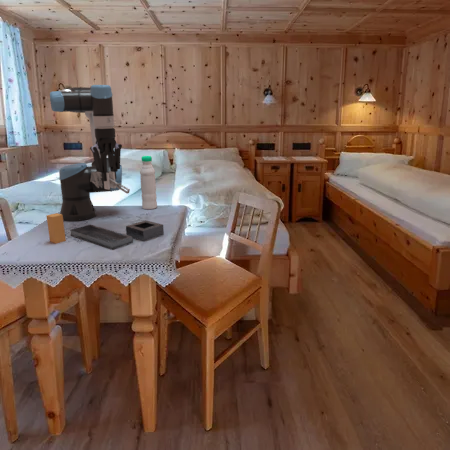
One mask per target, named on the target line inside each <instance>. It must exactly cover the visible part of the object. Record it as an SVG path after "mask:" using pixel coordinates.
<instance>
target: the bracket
mask: <svg viewBox="0 0 450 450" xmlns="http://www.w3.org/2000/svg"><path fill="white" fill-rule="evenodd" d="M97 178H98V179H99V181H98V179H97ZM101 178H102V174H101V172H97V171H95V172H92V174H91V180H90V182H93V183H94V184H95V185H96V186H97V187H98V188H99V186H100V187H102V186H101V185H103V184H101V183H102V181H100V180H101ZM94 181H96V182H94ZM109 181H110V184H112V185H114V186H115V187H117V188H119V189H120V190H119V191H122V192H124V193H126V194H130V191H131V190H130V188H128V187H126V186H124V185H121V183H117V182H115V181H114V180H112V179H111V178H109ZM120 186H121V187H120Z"/></svg>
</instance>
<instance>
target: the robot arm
mask: <svg viewBox="0 0 450 450" xmlns="http://www.w3.org/2000/svg"><path fill="white" fill-rule="evenodd" d="M49 100H50V101H49V102H50V107H51V111H53V112H55V113H57V112H58V113H63V112H64V113H66V112H70V113H75V114H76V113H77V114H84V115H85V117H86V118H87V119H88V121H89V128H90V136H91V143H92V144H91V145H92V146H90V147H89V150H90V151H91V153H92V158H93V161H92V162H91V165H90V166H89V165H87V163H85V162H84V163H75V164H74V163H73V164H68V165H65V166H62V167H61V168H60V169H59V171H58V173H59V175H58V176H59V178H58V179H59V182H60V191H61V198H62V201H61V202H62V203H61V207H60V212H59V214H61V215H63V221H67V222H74V221H75V222H77V221H78V222H79V221H85V220H89V219H93V218H95V217H96V216H97V213H96V208H95V206H94V204H93V202H92V200H91V193H105V192H106V193H107V192H117V191H121V190H120V189H119V188H117V187H115V186H114V185H112V184H110V181H109V178H111V179H112V180H114V181H115V182H117V183H121V185H122V183H123V182H122V181H123V166H122V164H121V150H122V146H123V145H122V144H121V143H117V141H116V136H117V135H116V129H115V125H116V124H115V115H114V104H113V92H112V87H111V85H110V84H109V85H108V84H93V85H92V84H91V86H90V87H88V86H87V87H82V86H79V87H78V86H76V87H74V86H73V87H69V88H65V89H61V90H57V91H50V92H49ZM95 171H97V172H101V174H102V178H101V180H100V181H102V183H101V184H103V185H101V186H102V187H100V186H99V188H98V187H97V186H96V185H95V184H94V183H93V182H90V180H91V174H92V172H95ZM97 179H98V178H97ZM98 181H99V179H98ZM94 182H96V181H94ZM120 187H121V186H120ZM121 188H122V187H121Z"/></svg>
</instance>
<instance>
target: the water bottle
mask: <svg viewBox="0 0 450 450" xmlns="http://www.w3.org/2000/svg"><path fill="white" fill-rule="evenodd" d="M152 160H153V157H152V156H151V155H143V156H141V162H142V165H141V168H140V171H139V174H140V189H141V200H142V201H141V204H142V205H141V206H142V209H144V210H154V209H156V208H157V207H158V201H157V186H156V184H157V182H156V180H157V179H156V170H155V168H154V166H153V164H152V162H153V161H152Z"/></svg>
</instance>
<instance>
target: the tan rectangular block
mask: <svg viewBox="0 0 450 450" xmlns="http://www.w3.org/2000/svg"><path fill="white" fill-rule="evenodd" d="M45 217H46V221H47V229H48V230H47V231H48V236H49V242H51V243H53V244H59V243H60V244H61V243H63V242H66V241H67V240H66V239H67V238H66V231H65V230H66V229H65V224H64V223H65V222H64V220H63V215H61V214H60V213H52V214H47V215H46V216H45Z"/></svg>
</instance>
